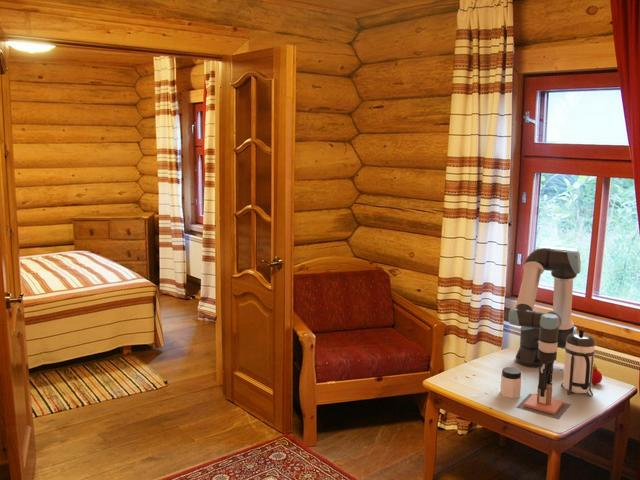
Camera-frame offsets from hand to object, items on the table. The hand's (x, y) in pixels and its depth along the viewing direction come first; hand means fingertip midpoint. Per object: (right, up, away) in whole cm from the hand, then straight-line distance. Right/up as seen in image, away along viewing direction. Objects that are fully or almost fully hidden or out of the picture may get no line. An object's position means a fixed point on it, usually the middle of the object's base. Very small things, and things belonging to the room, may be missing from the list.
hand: (544, 400), depth 260 cm
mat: (0, -3, 0) cm, 3 cm away
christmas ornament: (+33, +1, +25) cm, 41 cm away
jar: (-11, -1, +12) cm, 17 cm away
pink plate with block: (0, -2, 0) cm, 2 cm away
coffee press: (+21, -1, +15) cm, 26 cm away
